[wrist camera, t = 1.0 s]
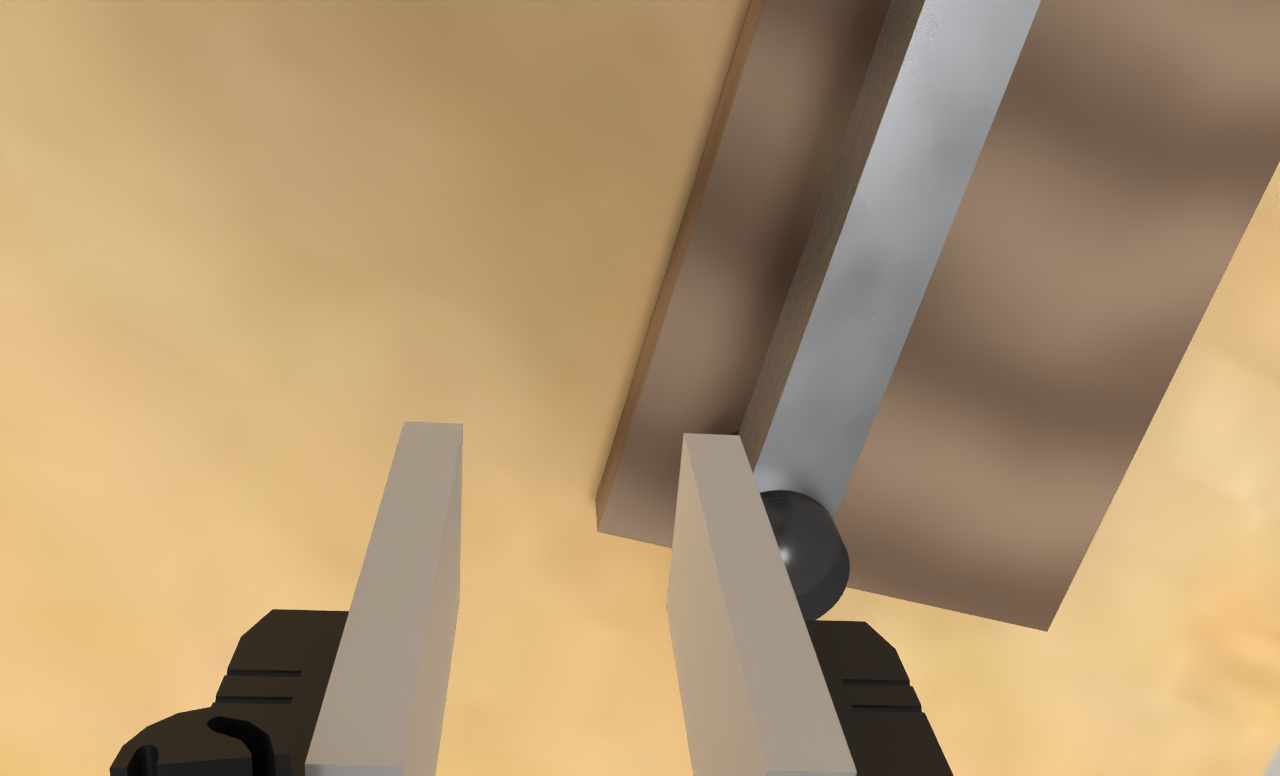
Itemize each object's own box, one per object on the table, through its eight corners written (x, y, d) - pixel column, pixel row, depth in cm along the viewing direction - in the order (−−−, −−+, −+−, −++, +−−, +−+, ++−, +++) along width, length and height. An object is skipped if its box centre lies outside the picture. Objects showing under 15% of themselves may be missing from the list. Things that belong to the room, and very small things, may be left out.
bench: (987, -759, 25) (1109, -945, 20) (1553, -508, 28) (1801, -611, 22) (595, 500, 37) (602, 606, 31) (1023, 597, 39) (1101, 711, 34)
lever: (1005, -558, 24) (1114, -669, 19) (1230, -466, 25) (1385, -550, 20) (651, 508, 33) (667, 607, 28) (825, 548, 34) (868, 650, 29)
